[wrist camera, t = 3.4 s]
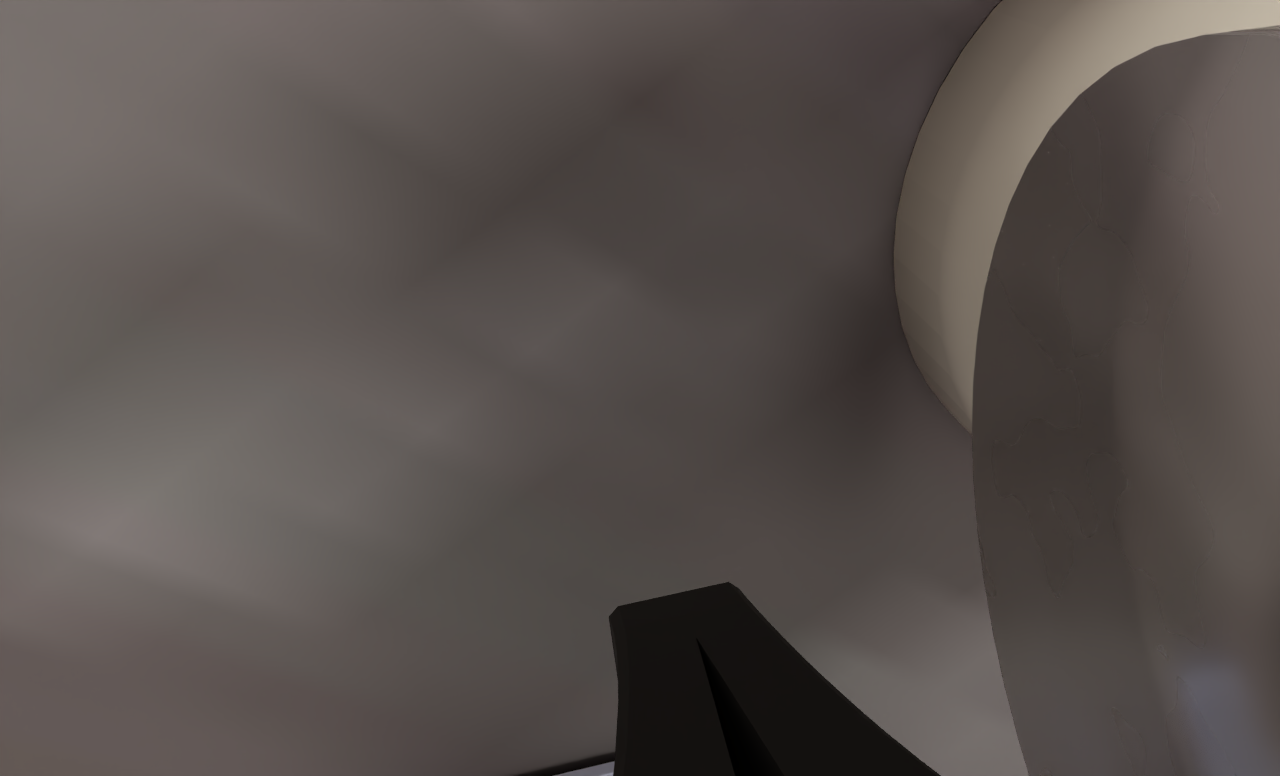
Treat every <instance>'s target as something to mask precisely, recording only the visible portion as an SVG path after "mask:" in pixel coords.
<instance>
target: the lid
mask: <svg viewBox="0 0 1280 776" xmlns="http://www.w3.org/2000/svg"><path fill="white" fill-rule="evenodd" d="M972 451H973V481H974V494H975V506H976V519H977V531H978V538H979V546H980V554H981V562H982V570H983V577H984V584H985V590H986V596H987V601H988V607H989V613H990V619H991V624H992V630H993V635H994V640H995V645H996V649H997V654H998V658H999V663H1000V668H1001V672H1002V677H1003V681H1004V686H1005V690H1006V694H1007V698H1008V701H1009V705H1010V709H1011V713H1012V717H1013V721H1014V724H1015V728H1016V732H1017V736H1018V740H1019V743H1020V746H1021V750H1022V753H1023V756H1024V760H1025V763H1026V766H1027V769H1028V773H1029V776H1280V25H1276V26H1269V27H1261V28H1253V29H1245V30H1238V31H1230V32H1222V33H1214V34H1207V35H1201V36H1197V37H1193V38H1189V39H1185V40H1181V41H1177V42H1172V43H1168V44H1164V45H1160V46H1156V47H1153V48H1151V49H1149V50H1147V51H1145V52H1143V53H1141V54H1139V55H1137V56H1135V57H1133V58H1131V59H1129V60H1127V61H1125V62H1123V63H1121V64H1119V65H1117V66H1115V67H1114V68H1112V69H1111V70H1110V71H1109V72H1107V73H1106V74H1105V75H1104V76H1102V77H1101V78H1100V79H1098V80H1097V81H1096V82H1095V83H1093V84H1092V85H1091V86H1090V87H1088V88H1087V89H1086V90H1085V91H1083V92H1082V93H1081V94H1080V95H1079V96H1078V97H1077V98H1076V99H1075V100H1074V101H1073V103H1072V104H1071V105H1070V106H1069V107H1068V108H1067V109H1066V111H1065V112H1064V113H1063V114H1062V115H1061V116H1060V117H1059V119H1058V120H1057V121H1056V122H1055V123H1054V124H1053V126H1052V127H1051V128H1050V129H1049V131H1048V133H1047V134H1046V136H1045V137H1044V139H1043V141H1042V142H1041V144H1040V145H1039V147H1038V148H1037V150H1036V152H1035V153H1034V155H1033V156H1032V158H1031V160H1030V161H1029V163H1028V164H1027V166H1026V169H1025V171H1024V173H1023V175H1022V177H1021V179H1020V182H1019V184H1018V186H1017V188H1016V190H1015V192H1014V195H1013V197H1012V199H1011V201H1010V203H1009V206H1008V209H1007V212H1006V215H1005V218H1004V221H1003V223H1002V226H1001V229H1000V232H999V235H998V238H997V241H996V244H995V248H994V252H993V256H992V260H991V264H990V268H989V273H988V277H987V281H986V285H985V289H984V295H983V302H982V308H981V315H980V321H979V327H978V334H977V343H976V355H975V367H974V378H973V407H972Z"/></svg>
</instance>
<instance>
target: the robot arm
mask: <svg viewBox="0 0 1280 776" xmlns="http://www.w3.org/2000/svg"><path fill="white" fill-rule="evenodd" d="M609 622H610V629H611V636H612V642H613V649H614V656H615V663H616V670H617V677H618V718H617V735H616V751H615V761H614V762H609V763H605V764H601V765H597V766H592V767H588V768H584V769H580V770H575V771H571V772H567V773H563V774H558V775H554V776H940V775H939V774H938V773H937V772H935V771H934V770H933V769H931V768H930V767H929V766H927V765H926V764H925V763H923V762H922V761H921V760H920V759H918V758H917V757H916V756H915V755H913V754H912V753H911V752H910V751H908V750H907V749H906V748H905V747H903V746H902V745H901V744H900V743H899V742H897V741H896V740H895V739H894V738H892V737H891V736H890V735H889V734H887V733H886V732H885V731H884V730H883V729H881V728H880V727H879V726H878V725H877V724H876V723H874V722H873V721H872V720H871V719H870V718H869V717H867V716H866V715H865V714H864V713H863V712H862V711H860V710H859V709H858V708H857V707H856V706H855V705H854V704H853V703H852V702H851V701H849V700H848V699H847V698H846V697H845V696H844V695H843V694H842V693H841V692H840V691H838V690H837V689H836V688H835V687H834V686H833V685H832V684H831V683H830V682H829V681H827V680H826V679H825V678H824V677H823V676H822V675H821V674H820V673H819V672H818V671H817V670H816V669H815V668H814V667H813V666H812V665H810V664H809V663H808V662H807V661H806V660H805V659H804V658H803V657H802V656H801V655H800V654H799V653H798V652H797V651H796V650H795V649H794V648H793V647H792V646H791V645H790V644H789V643H788V642H787V641H786V640H785V639H784V638H783V637H782V636H781V635H780V633H779V632H778V631H777V630H776V629H775V628H774V627H773V626H772V625H771V624H770V623H769V622H768V621H767V620H766V619H765V618H764V617H763V615H762V614H761V613H760V612H759V611H758V610H757V609H756V608H755V607H754V606H753V604H752V603H751V602H750V601H749V600H748V599H747V598H746V597H745V595H744V594H743V593H742V592H741V591H740V589H738V588H737V587H735V586H734V585H732V584H731V583H729V582H726V583H722V584H717V585H713V586H708V587H704V588H699V589H695V590H690V591H685V592H681V593H676V594H672V595H667V596H663V597H658V598H654V599H649V600H645V601H640V602H635V603H631V604H626V605H622V606H618V607H617V608H616V609H615V610H614V612H613V613H612V614H611V615H610V616H609Z"/></svg>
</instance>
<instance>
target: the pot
mask: <svg viewBox="0 0 1280 776" xmlns="http://www.w3.org/2000/svg"><path fill="white" fill-rule="evenodd" d="M1276 25H1280V0H1002V1H1001V2H1000V3H999V4H998V5H997V6H996V7H995V8H994V9H993V11H992V12H991V13H990V15H989V16H988V17H987V19H986V20H985V21H984V23H983V24H982V25H981V26H980V28H979V29H978V30H977V32H976V33H975V34H974V36H973V37H972V38H971V40H970V41H969V42H968V44H967V45H966V46H965V48H964V49H963V51H962V52H961V54H960V56H959V57H958V59H957V61H956V62H955V64H954V66H953V67H952V69H951V71H950V72H949V74H948V76H947V77H946V79H945V81H944V82H943V84H942V86H941V87H940V89H939V91H938V93H937V95H936V97H935V99H934V101H933V104H932V106H931V108H930V110H929V112H928V114H927V117H926V119H925V121H924V123H923V125H922V127H921V130H920V132H919V134H918V137H917V140H916V143H915V146H914V149H913V152H912V155H911V158H910V161H909V164H908V167H907V170H906V173H905V178H904V182H903V187H902V192H901V197H900V202H899V207H898V211H897V217H896V229H895V242H894V254H893V258H894V277H895V294H896V299H897V304H898V309H899V314H900V319H901V324H902V329H903V331H904V334H905V337H906V340H907V342H908V345H909V348H910V351H911V354H912V356H913V359H914V361H915V363H916V364H917V366H918V368H919V370H920V372H921V373H922V375H923V377H924V379H925V381H926V382H927V384H928V386H929V387H930V389H931V390H932V391H933V392H934V394H935V395H936V396H937V397H938V399H939V400H940V401H941V402H942V404H943V405H944V406H945V407H946V409H947V410H948V411H949V412H950V413H951V414H952V415H953V416H954V417H955V419H956V420H957V421H958V422H959V423H960V424H961V425H962V426H963V427H964V428H965V429H966V430H967V431H968V432H969V433H970V435H971V436H972V407H973V378H974V367H975V355H976V343H977V334H978V327H979V321H980V315H981V308H982V302H983V295H984V289H985V285H986V281H987V277H988V273H989V268H990V264H991V260H992V256H993V252H994V248H995V244H996V241H997V238H998V235H999V232H1000V229H1001V226H1002V223H1003V221H1004V218H1005V215H1006V212H1007V209H1008V206H1009V203H1010V201H1011V199H1012V197H1013V195H1014V192H1015V190H1016V188H1017V186H1018V184H1019V182H1020V179H1021V177H1022V175H1023V173H1024V171H1025V169H1026V166H1027V164H1028V163H1029V161H1030V160H1031V158H1032V156H1033V155H1034V153H1035V152H1036V150H1037V148H1038V147H1039V145H1040V144H1041V142H1042V141H1043V139H1044V137H1045V136H1046V134H1047V133H1048V131H1049V129H1050V128H1051V127H1052V126H1053V124H1054V123H1055V122H1056V121H1057V120H1058V119H1059V117H1060V116H1061V115H1062V114H1063V113H1064V112H1065V111H1066V109H1067V108H1068V107H1069V106H1070V105H1071V104H1072V103H1073V101H1074V100H1075V99H1076V98H1077V97H1078V96H1079V95H1080V94H1081V93H1082V92H1083V91H1085V90H1086V89H1087V88H1088V87H1090V86H1091V85H1092V84H1093V83H1095V82H1096V81H1097V80H1098V79H1100V78H1101V77H1102V76H1104V75H1105V74H1106V73H1107V72H1109V71H1110V70H1111V69H1112V68H1114V67H1115V66H1117V65H1119V64H1121V63H1123V62H1125V61H1127V60H1129V59H1131V58H1133V57H1135V56H1137V55H1139V54H1141V53H1143V52H1145V51H1147V50H1149V49H1151V48H1153V47H1156V46H1160V45H1164V44H1168V43H1172V42H1177V41H1181V40H1185V39H1189V38H1193V37H1197V36H1201V35H1207V34H1214V33H1222V32H1230V31H1238V30H1245V29H1253V28H1261V27H1269V26H1276Z"/></svg>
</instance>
